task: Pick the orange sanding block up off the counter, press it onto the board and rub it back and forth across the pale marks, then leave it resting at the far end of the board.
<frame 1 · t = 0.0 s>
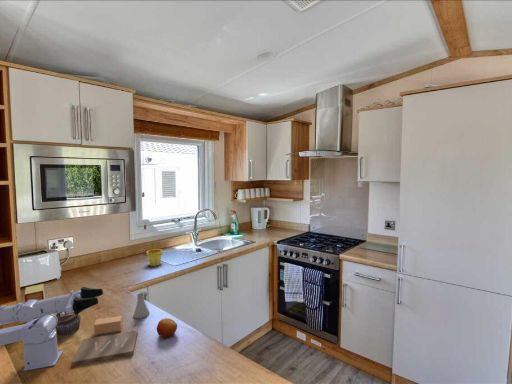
hand: (100, 295, 108), 22 cm above the countertop, tool horizontal, fingers open, 7 cm apart
plant pot: (155, 264, 205), on the countertop
board: (107, 348, 112), on the countertop
sanding block: (109, 331, 123), on the countertop
flask: (141, 315, 136), on the countertop
fruit: (167, 335, 119), on the countertop
cupcake: (68, 330, 125), on the countertop
baking soda box: (37, 322, 132), on the countertop
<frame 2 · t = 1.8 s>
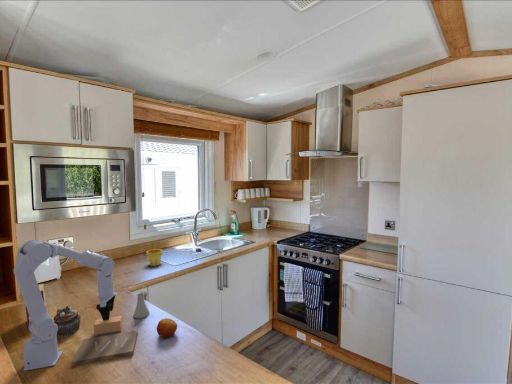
hand: (108, 315, 123), 7 cm above the countertop, tool pointing down, fingers open, 7 cm apart
nothing on the countertop moved.
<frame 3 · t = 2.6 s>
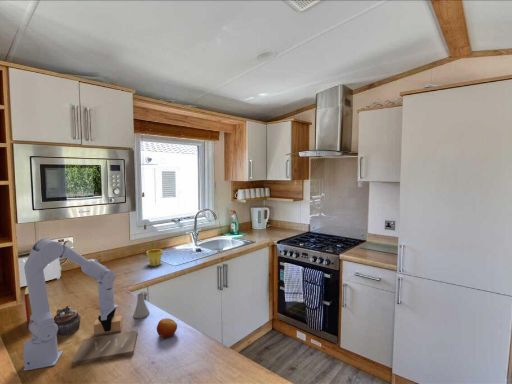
hand: (108, 327, 123), 1 cm above the countertop, tool pointing down, fingers closed on sanding block, 4 cm apart
sanding block: (109, 331, 123), on the countertop, touching gripper
everything else where it was.
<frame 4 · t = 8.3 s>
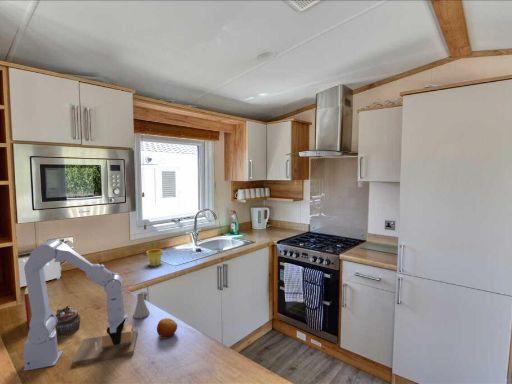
hand: (118, 340, 112), 3 cm above the countertop, tool pointing down, fingers closed on sanding block, 4 cm apart
sanding block: (118, 342, 112), point 2 cm above the countertop, touching gripper
everything else where it was.
when the fingers open (3 cm above the countertop, at t = 13.9 s): sanding block stays where it is, resting on board.
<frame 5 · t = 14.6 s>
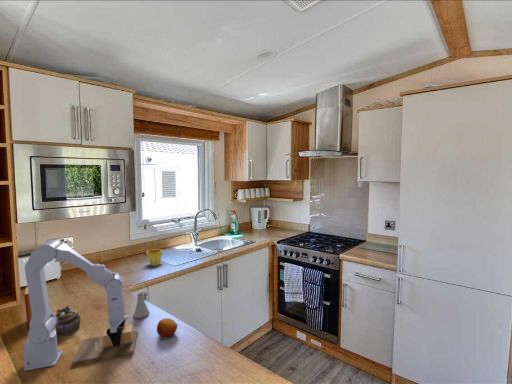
hand: (118, 340, 112), 3 cm above the countertop, tool pointing down, fingers open, 7 cm apart
sanding block: (119, 342, 113), point 2 cm above the countertop, touching board
everything else where it was.
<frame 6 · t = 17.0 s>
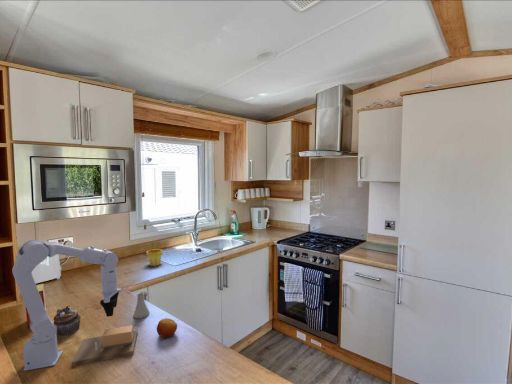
hand: (111, 311, 121), 9 cm above the countertop, tool pointing down, fingers open, 7 cm apart
nothing on the countertop moved.
at the end: sanding block inside the target area on the board (0.6 cm from its centre), point 1.5 cm above the board's base; sanding block tilted 0°; the gripper is holding nothing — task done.
